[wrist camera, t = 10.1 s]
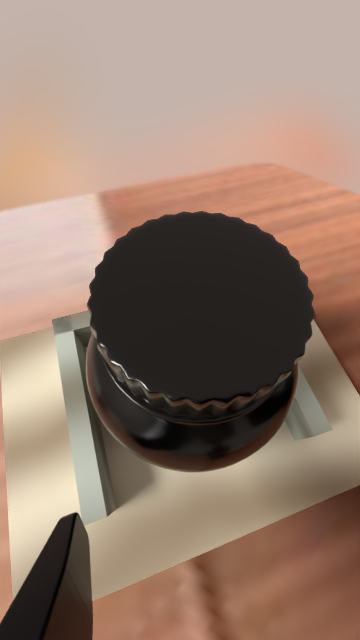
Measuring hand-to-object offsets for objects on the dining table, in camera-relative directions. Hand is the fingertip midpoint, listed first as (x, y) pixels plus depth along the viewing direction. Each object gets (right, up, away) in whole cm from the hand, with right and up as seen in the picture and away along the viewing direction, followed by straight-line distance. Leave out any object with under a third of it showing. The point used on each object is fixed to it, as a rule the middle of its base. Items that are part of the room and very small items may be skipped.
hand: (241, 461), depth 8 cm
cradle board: (-1, -1, +10) cm, 10 cm away
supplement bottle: (-2, -1, +9) cm, 9 cm away
